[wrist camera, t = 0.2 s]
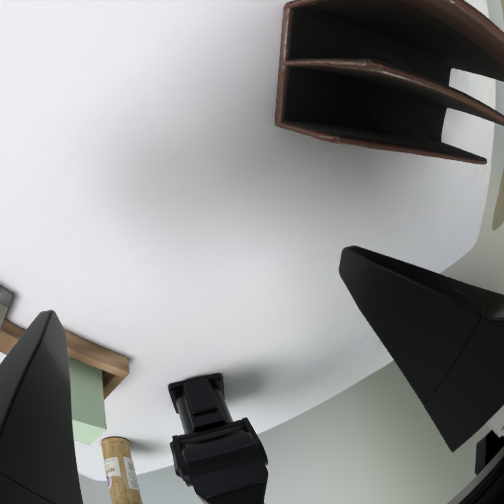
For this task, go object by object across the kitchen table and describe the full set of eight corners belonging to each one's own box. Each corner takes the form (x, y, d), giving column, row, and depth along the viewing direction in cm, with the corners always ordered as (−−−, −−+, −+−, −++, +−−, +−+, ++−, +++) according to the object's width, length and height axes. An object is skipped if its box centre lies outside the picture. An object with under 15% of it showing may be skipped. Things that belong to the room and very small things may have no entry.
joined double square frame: (132, 351, 28) (134, 367, 26) (91, 398, 29) (92, 412, 28) (-56, 247, 15) (-65, 259, 14) (-68, 319, 17) (-74, 333, 15)
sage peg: (101, 361, 27) (106, 429, 21) (86, 380, 28) (90, 445, 21) (49, 337, 23) (42, 409, 17) (37, 360, 24) (31, 427, 18)
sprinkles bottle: (99, 435, 33) (114, 521, 23) (129, 436, 35) (149, 519, 25) (101, 448, 35) (117, 526, 25) (130, 448, 37) (149, 525, 27)
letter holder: (281, 3, 17) (441, -37, 5) (443, 61, 23) (557, 91, 12) (271, 126, 22) (418, 192, 11) (432, 144, 28) (538, 195, 17)
